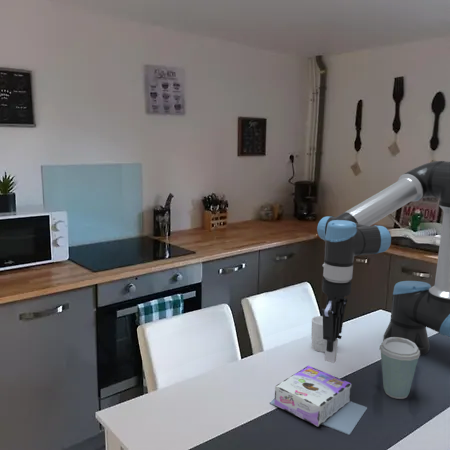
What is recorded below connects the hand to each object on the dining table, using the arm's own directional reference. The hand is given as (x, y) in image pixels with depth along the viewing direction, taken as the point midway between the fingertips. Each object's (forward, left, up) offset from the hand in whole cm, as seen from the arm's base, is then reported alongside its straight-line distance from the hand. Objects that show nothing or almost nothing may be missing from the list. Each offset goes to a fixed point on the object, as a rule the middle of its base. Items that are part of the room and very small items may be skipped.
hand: (330, 360), depth 126 cm
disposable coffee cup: (-13, +15, -11) cm, 23 cm away
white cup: (-27, -13, -11) cm, 32 cm away
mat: (+6, 0, -10) cm, 12 cm away
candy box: (-1, 0, -7) cm, 8 cm away
